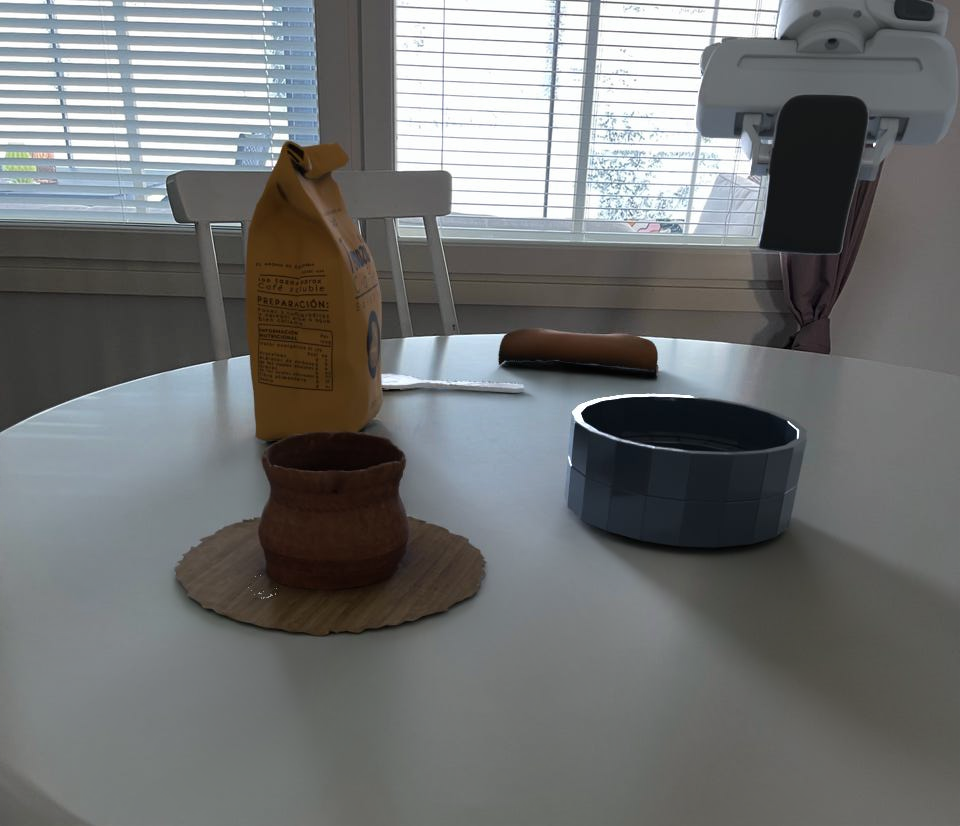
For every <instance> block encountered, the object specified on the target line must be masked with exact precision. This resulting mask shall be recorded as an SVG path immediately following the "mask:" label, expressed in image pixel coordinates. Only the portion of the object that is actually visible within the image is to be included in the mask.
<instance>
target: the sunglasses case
mask: <svg viewBox="0 0 960 826" xmlns="http://www.w3.org/2000/svg"><path fill="white" fill-rule="evenodd" d="M658 353H659V351H658V349H657V346H656V344H655V343H654V341H653V340H650V339H647V338H644V337H642V336H638V335H634V334H628V333H608V334H603V333H579V332H568V331H560V330H559V331H558V330H554V329H549V328H542V327H541V328H540V327H532V328H531V327H529V328H520V329H515V330H511V331H508V332H507V333H505V334H504V335H503V337H502V338H501V341H500V344H499V349H498V354H497V357H498V358H497V359H498V360H497V361H498V366H501V365H502V364H503V363H506V362H517V363H518V362H531V363H534V362H538V361H539V362H544V363H545V362H555V361H557V362H560V363H569V364H576V365H597V366H600V367H605V368H606V367H609V368H622V369H632V370H633V369H634V370H642V371H648V372H653V376H654V377H655V378H656V379H657V378H658V373H659V369H660V367H659V365H658V360H659V354H658Z"/></svg>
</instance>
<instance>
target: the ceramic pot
mask: <svg viewBox="0 0 960 826" xmlns="http://www.w3.org/2000/svg"><path fill="white" fill-rule="evenodd" d="M260 457H261V460H260V461H261V465H262V469H263V471H264V472H265V476H266V479H267V481H268V484H269V497H268V499H267V501H266V503H265V504H264V506H263V508H262V511H261V515H260V516H257V517H253V518H248V519H245V518H244V519H242V520H241V521H238V522H234V523H232V524H229V525H226V526H224V527H222V528H221V529H218V530H217V531H215V532H214V533H213V534H211V535H208V536H205V537H201V538H200V539H199V540H198V541H199V542H200V543H199V544H198V545H197V546H190V549H189V550H188V551H187V552H185V553H183V554H182V559H180V560H178V561H177V563H178V565H177V566H175V567H174V572H175V578H176V579H177V580H179V582H180V584H181V585H182V587H183V588H184V589H185V590H186V591H187V594H186V596H187V597H190V598H192V599H193V600H194V601H196V602H198V603H199V604H200V605H201V607H202V608H203V609H211V610H213V611H214V612H215V613H216V614H219V615H222V616H226V617H228V618H230V619H232V620H235V621H238V622H243V623H247V624H248V623H249V624H252V625H255V626H259V627H262V628H267V629H279V630H280V629H281V630H284V631H287V632H289V633H301V632H302V633H306V634H309V635H313V636H318V637H319V636H320V637H323V636H326V635H328V634H330V632H334V633H337V634H339V632H346V631H347V632H351V633H359V634H360V633H361V632H363V631H364V630H366V629H379V628H382V627H384V626H399V625H401V624H402V623H404V622H406V621H407V622H414V621H416V620H418V619H420V618H422V617H423V616H429V615H432V614H435V613H441V612H448V611H449V609H448V608H450V607H451V606H453V605H454V604H455V603H457V602H461V601H464V600H465V599H466V598H469V597H473V596H474V595H475V593H477V591H478V590H479V589H480V588H479V587H481V586H482V582H481V580H482V579H483V578H484V577H485V576H486V571H485V569H484V568H483V566H484V565H485V564H488V562H487V561H485V556H484V555H483V554H482V552H481V549H479V548H477V547H476V546H474V545H473V544H471V542H470V539H469V538H467V537H465V536H464V535H460V534H457V533H454V532H450V531H449V529H447V528H445V527H444V526H441V525H437V524H434V523H430V522H427V521H426V520H422V519H419V518H414V517H413V516H412V515H411V516H410V515H408V514H407V510H406V508H405V505H404V502H403V499H402V497H401V494H400V486H401V485H400V484H401V481H402V478H403V477H404V471H405V469H406V467H407V458H406V455H405V453H404V451H403V450H402V449H400V448H399V447H398V445H396V444H394V442H393V441H392V440H391V439H390V438H388V437H386V436H385V437H384V436H381V435H378V434H371V433H366V432H359V431H358V432H352V431H309V432H306V433H305V434H290V435H287V436H286V437H284V438H283V439H282V440H281V441H275V442H273V443H272V444H271V445H268V446H267V447H266V448H265V449H264V450H263V452H262V453H261V455H260ZM260 575H261V576H260ZM255 576H256V577H255ZM248 587H249V588H248ZM276 588H277V589H276ZM251 590H252V591H251ZM263 591H264V592H263ZM259 592H260V593H262V594H258V593H259ZM275 593H276V595H275ZM254 594H255V595H254ZM270 594H272V595H273V596H271V597H269V598H266V597H268V596H270ZM261 597H262V599H261ZM263 597H265V598H264V599H263Z"/></svg>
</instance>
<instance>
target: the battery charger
mask: <svg viewBox="0 0 960 826" xmlns="http://www.w3.org/2000/svg"><path fill="white" fill-rule="evenodd" d="M868 124H869V110H868V106H867V104H866V102H865V101H864V100H863V99H862V98H860V97H858V96H855V95H845V94H798V95H795V96H792V97H791V98H789V99H788V100H786V102H785V103H784V104H783V105H782V107H781V109H780V111H779V114H778V117H777V120H776V125H775V130H774V136H773V140H771V144H772V147H771V153H770V160H769V167H768V174H767V176H766V184H765V192H764V193H765V194H764V203H763V211H762V218H761V224H760V228H759V229H760V230H759V235H758V239H757V244H756V245H757V248H758V249H759V250H760V251H768V252H773V253H784V254H795V255H798V254H799V255H817V256H826V255H827V256H831V255H832V256H833V255H839V254H841V253H842V251H843V246H844V240H845V236H846V235H845V234H846V228H847V224H848V219H849V214H850V209H851V206H852V202H853V199H854V195H855V191H856V186H857V183H858V180H857V179H858V175H859V171H860V166H861V162H862V157H863V152H864V148H866V147H865V146H866V144H865V142H866V136H867V130H868Z"/></svg>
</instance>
